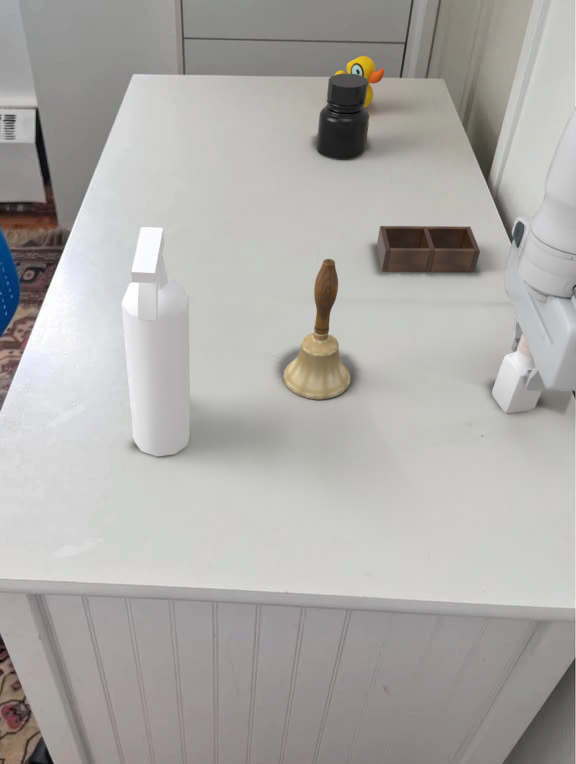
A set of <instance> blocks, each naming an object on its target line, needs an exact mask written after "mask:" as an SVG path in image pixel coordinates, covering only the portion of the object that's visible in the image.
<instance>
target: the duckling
mask: <svg viewBox="0 0 576 764" xmlns="http://www.w3.org/2000/svg"><path fill="white" fill-rule="evenodd" d="M346 72H347V73H346ZM346 72H345V70H338V71H336V72H335V73H334V75H336V74H343V73H344V74H358V75H360V76H364V77H365V78H366V79H368V86H367V94H366V100H365V104H364V107H365V108H366V109H367V107H368V106H370V105H371V104H372V102H373V99H374V90H373V87H372V85H371V84H377V83H379V82H381V80H382V79H383V78H384V75H385V69H384V68H383V67H381V68H380V69H379V70H378V71H376V64H375V62H374V60H373V59H372V58H371V57H369V56H366V55H360V56H358V57H356V58H354V59H353V60H350V61H349V62H348V63H347V65H346Z"/></svg>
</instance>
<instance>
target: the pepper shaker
mask: <svg viewBox="0 0 576 764" xmlns="http://www.w3.org/2000/svg"><path fill="white" fill-rule="evenodd" d="M534 362H535V361H534V359H533V356H532V354H531V352H530V349H529V347H528V344H527V342H526V340H525V337H524V335H523V334H522V336H521V339H520V341H519V344H518V347H517V351H516V352H513V351H512V352H510V353H507V354H506V355H505V356H504V357H503V359H502V362H501V365H500V368H499V371H498V373H497V376H496V379H495V382H494V385H493V388H492V390H491V395H492V397H493V399H494V400H495V402H496V403H497V404H498V406H499V407H500V408H501V410H502V411H503V412H504V413H506V414H513V413H520V412H525V411H532V410H533V409H535V408H536V406H537V404H538V401H539V399H540V396H541V394H542V392H543V389H542V390H540V391H529V390H527V388H526V385H525V382H524V378H525V376H526V372H527V370H533V369H534V368H535V366H534Z"/></svg>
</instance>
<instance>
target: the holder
mask: <svg viewBox="0 0 576 764" xmlns="http://www.w3.org/2000/svg"><path fill="white" fill-rule="evenodd" d="M471 227H472V226H453V225H451V226H442V225H441V226H440V225H439V226H438V225H436V226H435V225H433V226H432V225H428V226H427V225H426V226H425V225H424V226H423V225H422V226H421V225H380V226H379V231H378V236H377V242H376V251H377V255H378V261H379V265H380V270H381V272H382V273H465V274H467V273H475V270H476V267H477V264H478V259H479V257H480V253H481V249H480V248H479V245H478V242H477V240H476V237H475V235H474V232H473V229H472V228H471Z"/></svg>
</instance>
